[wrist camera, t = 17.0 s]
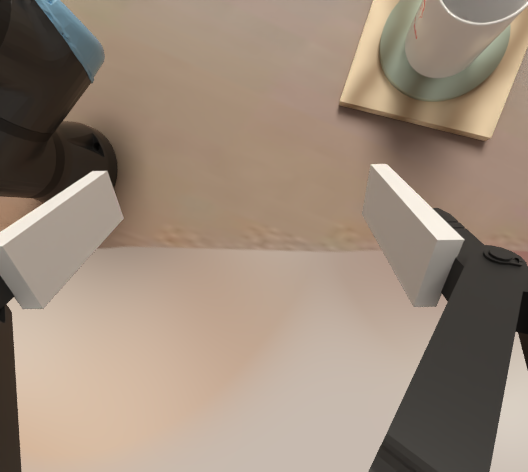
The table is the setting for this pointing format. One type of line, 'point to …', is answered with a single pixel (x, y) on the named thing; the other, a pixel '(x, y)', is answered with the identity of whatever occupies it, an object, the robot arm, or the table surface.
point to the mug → (456, 33)
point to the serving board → (431, 89)
